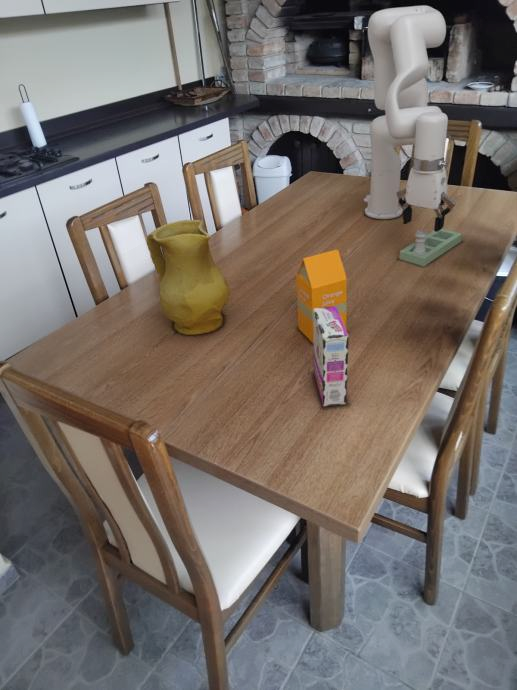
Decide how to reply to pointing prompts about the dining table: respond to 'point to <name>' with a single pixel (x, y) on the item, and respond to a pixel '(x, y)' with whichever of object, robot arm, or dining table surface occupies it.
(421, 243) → the rook chess piece
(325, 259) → the orange juice
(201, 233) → the pitcher
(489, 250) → the dining table surface
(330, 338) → the candy bar box
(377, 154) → the robot arm
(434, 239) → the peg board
